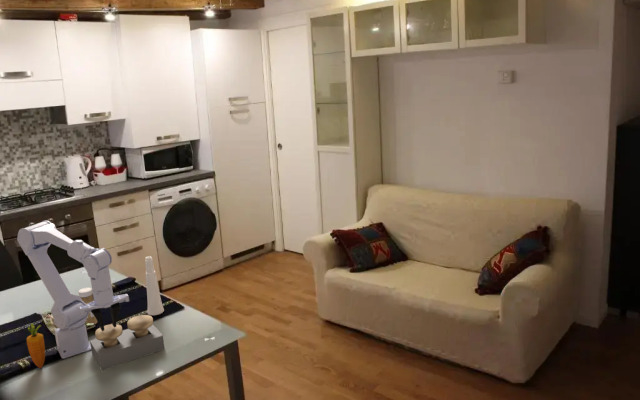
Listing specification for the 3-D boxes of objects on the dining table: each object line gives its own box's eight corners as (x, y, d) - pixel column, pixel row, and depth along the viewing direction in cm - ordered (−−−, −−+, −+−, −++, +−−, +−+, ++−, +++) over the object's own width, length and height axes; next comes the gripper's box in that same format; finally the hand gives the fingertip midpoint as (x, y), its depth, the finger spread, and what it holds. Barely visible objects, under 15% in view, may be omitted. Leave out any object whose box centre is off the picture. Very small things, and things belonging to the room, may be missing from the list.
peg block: (101, 370, 171) (99, 356, 170) (92, 354, 181) (89, 340, 180) (164, 349, 182) (162, 335, 181) (152, 335, 192) (150, 321, 190)
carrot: (35, 364, 177) (27, 321, 173) (51, 363, 177) (43, 320, 173) (29, 373, 172) (20, 329, 168) (45, 371, 172) (37, 327, 168)
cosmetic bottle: (143, 314, 208) (136, 259, 202) (154, 307, 213) (147, 253, 207) (157, 316, 205) (149, 260, 200) (167, 309, 211) (160, 254, 205)
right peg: (133, 346, 178) (131, 329, 176) (126, 336, 184) (124, 319, 183) (158, 338, 182) (156, 321, 181) (150, 328, 189) (148, 312, 187)
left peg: (101, 356, 173) (98, 339, 171) (95, 346, 179) (92, 329, 177) (127, 348, 177) (125, 331, 175) (120, 338, 183) (117, 321, 182)
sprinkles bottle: (98, 324, 201) (93, 290, 198) (85, 328, 199) (79, 293, 195) (95, 319, 205) (90, 286, 202) (82, 323, 203) (77, 289, 199)
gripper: (80, 299, 165) (87, 340, 169) (129, 285, 173) (135, 325, 177) (75, 291, 171) (82, 331, 175) (122, 279, 179) (128, 317, 182)
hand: (108, 327), depth 176 cm, fingers open, 3 cm apart
